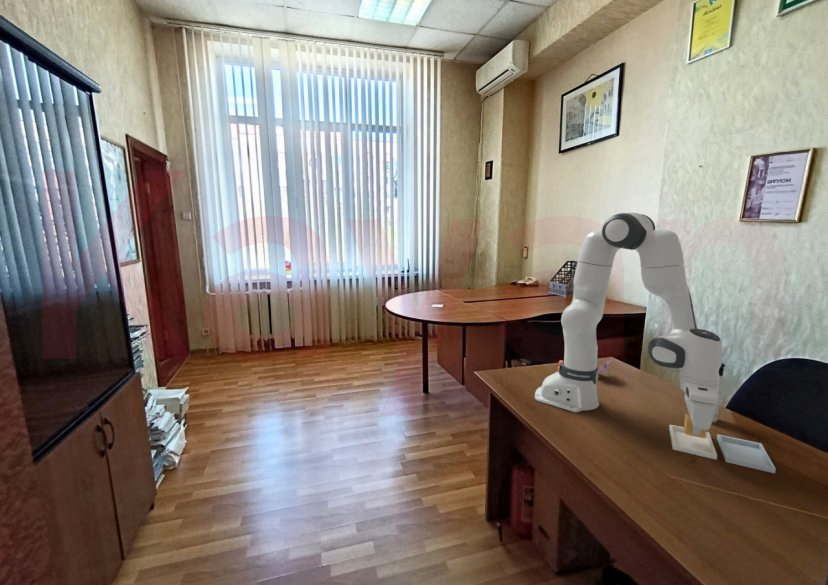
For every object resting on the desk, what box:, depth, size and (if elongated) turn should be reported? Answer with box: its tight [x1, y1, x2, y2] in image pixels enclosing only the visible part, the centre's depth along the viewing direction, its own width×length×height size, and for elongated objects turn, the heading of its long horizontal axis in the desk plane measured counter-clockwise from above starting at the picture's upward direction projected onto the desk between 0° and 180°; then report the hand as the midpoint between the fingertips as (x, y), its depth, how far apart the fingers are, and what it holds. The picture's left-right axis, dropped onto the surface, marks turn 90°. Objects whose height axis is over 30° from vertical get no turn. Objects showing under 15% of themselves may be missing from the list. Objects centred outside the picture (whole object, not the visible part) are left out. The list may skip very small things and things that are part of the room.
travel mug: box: [712, 363, 726, 424], centre depth 122 cm, size 6×7×20 cm
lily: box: [598, 358, 614, 382], centre depth 157 cm, size 12×12×10 cm
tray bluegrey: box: [716, 433, 777, 474], centre depth 104 cm, size 10×13×2 cm
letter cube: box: [683, 413, 707, 438], centre depth 109 cm, size 4×4×5 cm
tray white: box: [668, 424, 718, 461], centre depth 110 cm, size 10×13×2 cm
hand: (694, 428), depth 109 cm, fingers closed on letter cube, 4 cm apart
